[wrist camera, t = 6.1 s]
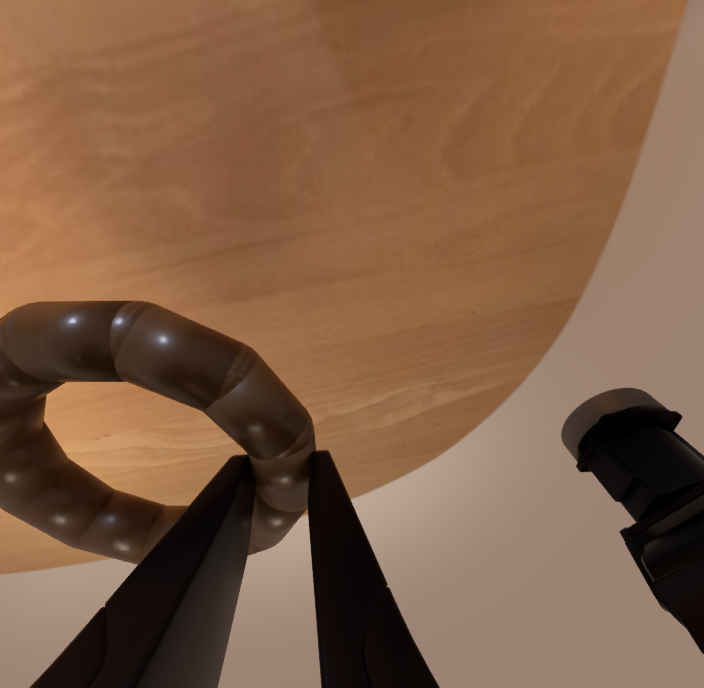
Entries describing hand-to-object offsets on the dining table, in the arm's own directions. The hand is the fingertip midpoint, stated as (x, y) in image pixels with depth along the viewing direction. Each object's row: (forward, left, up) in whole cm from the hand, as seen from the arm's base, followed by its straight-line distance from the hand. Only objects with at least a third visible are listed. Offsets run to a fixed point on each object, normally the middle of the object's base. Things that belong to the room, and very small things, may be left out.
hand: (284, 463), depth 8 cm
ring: (+3, 0, 0) cm, 3 cm away
